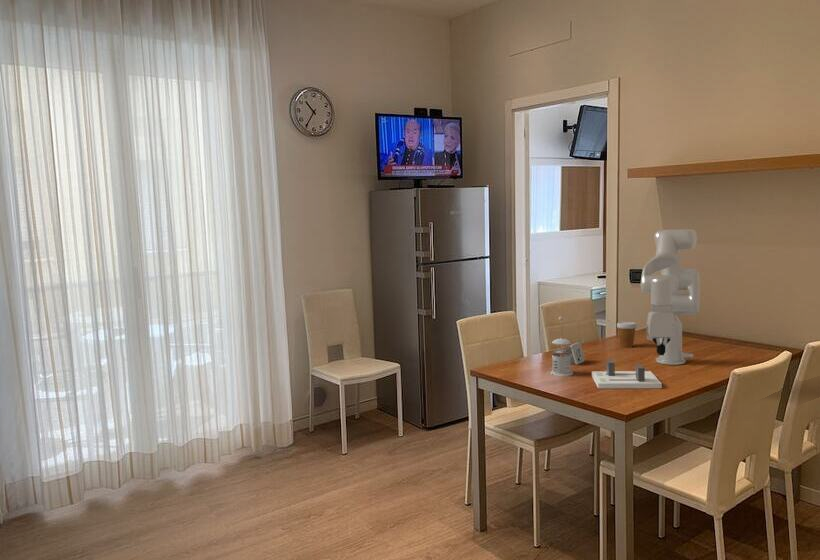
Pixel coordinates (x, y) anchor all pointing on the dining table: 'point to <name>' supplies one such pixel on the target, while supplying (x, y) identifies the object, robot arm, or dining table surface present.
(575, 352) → the electrical switch
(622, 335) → the disposable coffee cup
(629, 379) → the white slider control panel
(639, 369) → the handle
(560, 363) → the french press
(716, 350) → the dining table surface
